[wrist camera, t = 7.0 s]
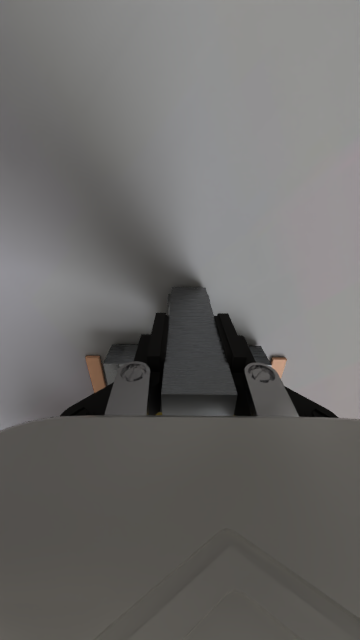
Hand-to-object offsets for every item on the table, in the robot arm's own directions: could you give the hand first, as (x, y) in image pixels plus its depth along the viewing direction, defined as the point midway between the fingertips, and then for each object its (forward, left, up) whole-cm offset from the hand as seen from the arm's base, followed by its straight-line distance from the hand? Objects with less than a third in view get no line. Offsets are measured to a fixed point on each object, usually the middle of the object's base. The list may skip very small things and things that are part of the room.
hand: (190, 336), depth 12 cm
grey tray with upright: (+8, 0, -5) cm, 9 cm away
